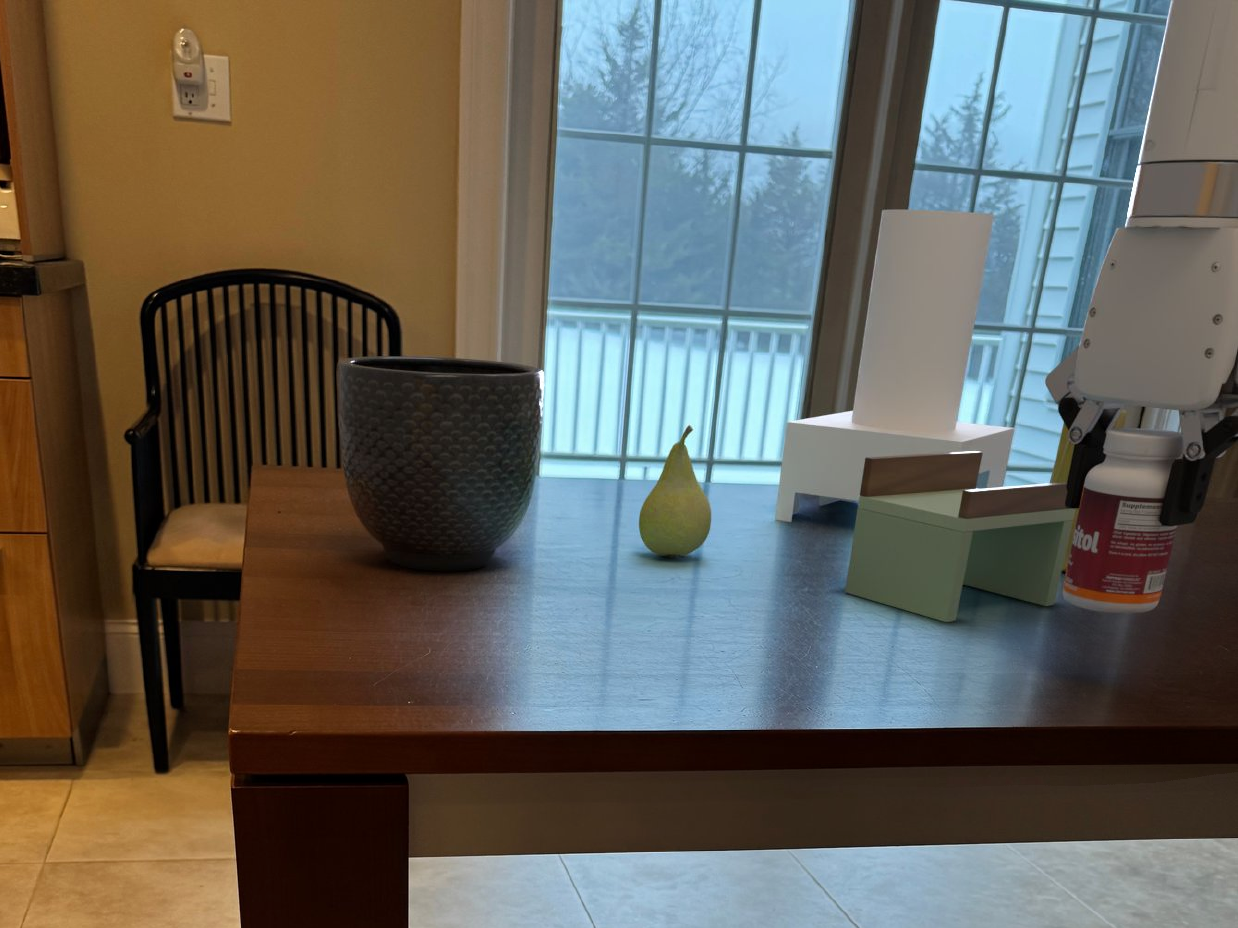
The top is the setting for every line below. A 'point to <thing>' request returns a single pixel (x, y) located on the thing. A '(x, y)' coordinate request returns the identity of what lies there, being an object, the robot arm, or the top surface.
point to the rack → (953, 535)
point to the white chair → (904, 364)
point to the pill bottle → (1123, 524)
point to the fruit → (675, 507)
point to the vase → (1062, 472)
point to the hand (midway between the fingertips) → (1128, 512)
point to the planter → (439, 454)
